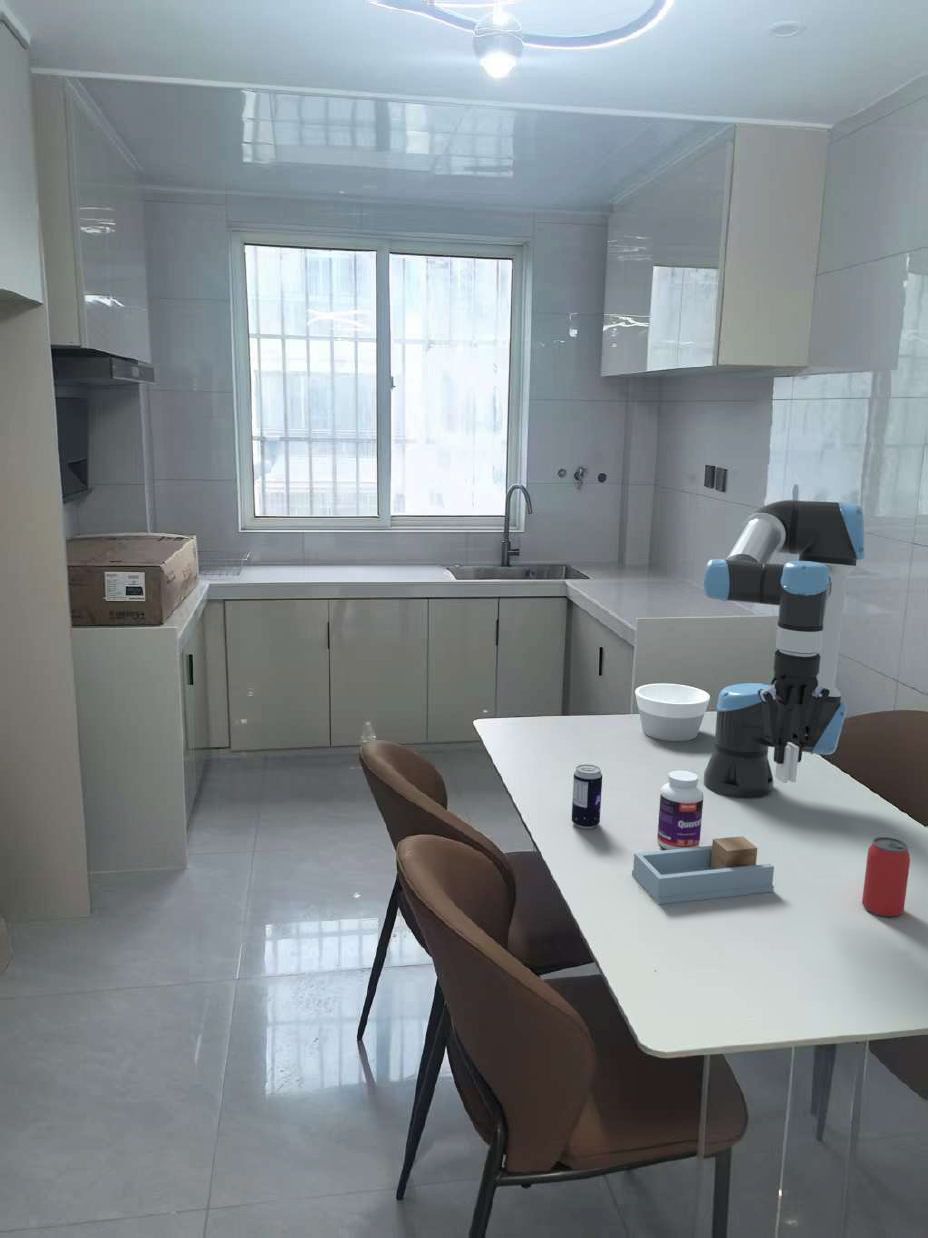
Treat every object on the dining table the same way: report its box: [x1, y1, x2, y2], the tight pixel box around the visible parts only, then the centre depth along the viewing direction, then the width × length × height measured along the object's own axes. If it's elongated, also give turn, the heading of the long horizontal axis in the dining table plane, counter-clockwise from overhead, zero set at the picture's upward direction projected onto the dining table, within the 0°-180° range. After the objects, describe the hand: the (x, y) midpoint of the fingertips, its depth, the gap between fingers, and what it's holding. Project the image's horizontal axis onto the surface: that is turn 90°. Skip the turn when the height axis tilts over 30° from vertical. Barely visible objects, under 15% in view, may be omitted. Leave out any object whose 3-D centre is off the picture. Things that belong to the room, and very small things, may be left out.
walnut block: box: [710, 835, 758, 870], centre depth 174 cm, size 6×5×6 cm
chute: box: [631, 845, 775, 905], centre depth 173 cm, size 22×11×4 cm, turn 105°
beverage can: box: [571, 764, 603, 830], centre depth 196 cm, size 6×6×12 cm
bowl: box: [634, 683, 711, 742], centre depth 255 cm, size 19×19×11 cm
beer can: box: [861, 836, 911, 918], centre depth 164 cm, size 7×7×12 cm
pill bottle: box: [656, 770, 704, 850], centre depth 187 cm, size 8×8×14 cm
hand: (785, 779), depth 173 cm, fingers closed
